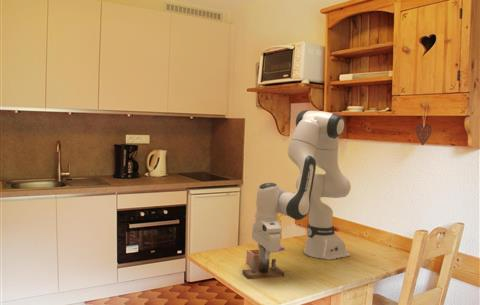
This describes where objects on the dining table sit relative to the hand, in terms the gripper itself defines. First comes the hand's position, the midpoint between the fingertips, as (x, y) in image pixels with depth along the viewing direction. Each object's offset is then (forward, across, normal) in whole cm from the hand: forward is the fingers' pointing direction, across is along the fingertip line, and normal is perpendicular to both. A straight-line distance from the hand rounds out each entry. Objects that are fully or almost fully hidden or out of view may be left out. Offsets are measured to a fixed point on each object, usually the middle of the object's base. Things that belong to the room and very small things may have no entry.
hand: (264, 256), depth 164 cm
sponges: (+8, -33, +19) cm, 39 cm away
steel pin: (+6, 0, 0) cm, 6 cm away
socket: (+8, -10, +2) cm, 13 cm away
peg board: (+8, 0, 0) cm, 8 cm away
